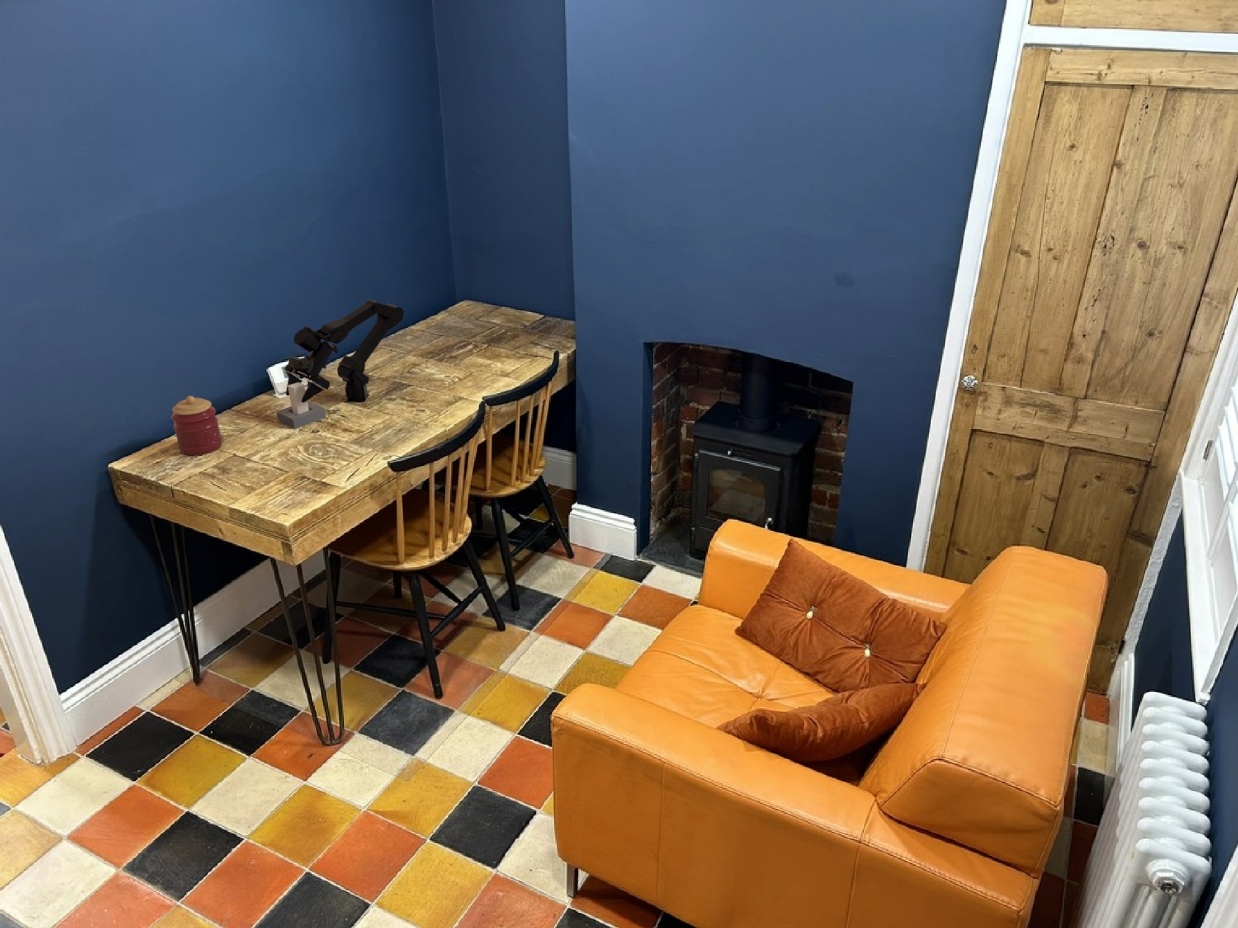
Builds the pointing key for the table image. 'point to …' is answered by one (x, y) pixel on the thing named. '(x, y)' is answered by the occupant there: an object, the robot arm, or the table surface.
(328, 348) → the robot arm
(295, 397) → the light grey peg
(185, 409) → the canister
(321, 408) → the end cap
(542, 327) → the table surface
